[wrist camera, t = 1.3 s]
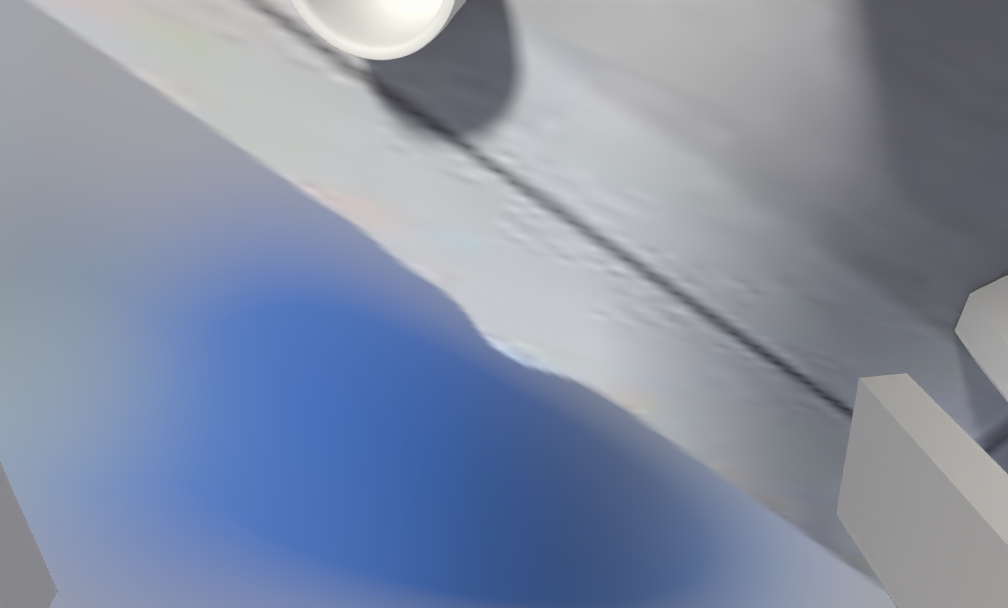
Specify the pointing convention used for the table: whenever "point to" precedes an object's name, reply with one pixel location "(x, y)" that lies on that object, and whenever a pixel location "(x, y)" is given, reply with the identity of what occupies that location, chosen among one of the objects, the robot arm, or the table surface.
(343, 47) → the teacup
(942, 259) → the table surface
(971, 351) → the pepper shaker
